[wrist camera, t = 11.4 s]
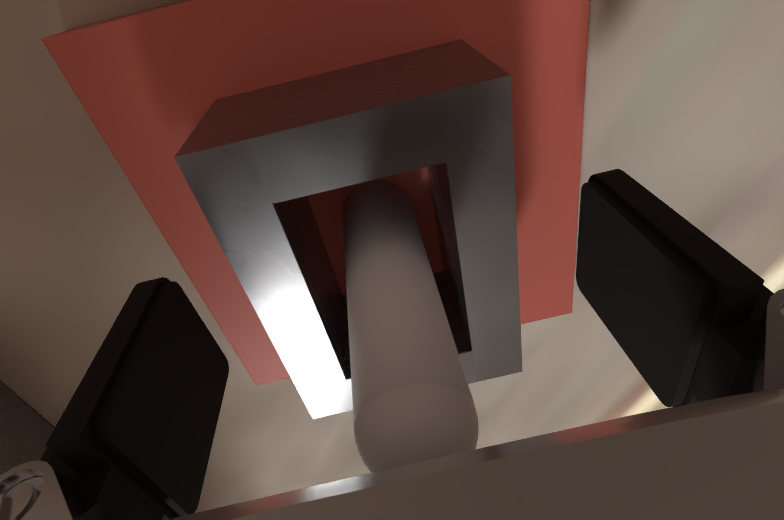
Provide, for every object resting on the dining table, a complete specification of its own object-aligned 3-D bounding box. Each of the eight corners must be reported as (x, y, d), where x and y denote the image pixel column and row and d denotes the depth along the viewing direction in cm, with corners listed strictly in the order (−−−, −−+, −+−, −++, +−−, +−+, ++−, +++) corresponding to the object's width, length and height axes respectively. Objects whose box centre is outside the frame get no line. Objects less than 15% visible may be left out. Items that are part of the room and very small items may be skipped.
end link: (486, 291, 15) (522, 371, 12) (315, 330, 15) (313, 419, 12) (460, 39, 10) (511, 74, 8) (215, 100, 11) (173, 157, 8)
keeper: (560, 295, 17) (733, 557, 10) (259, 364, 17) (209, 669, 10) (573, -98, 10) (1241, -207, 3) (64, 32, 10) (-582, 249, 3)
